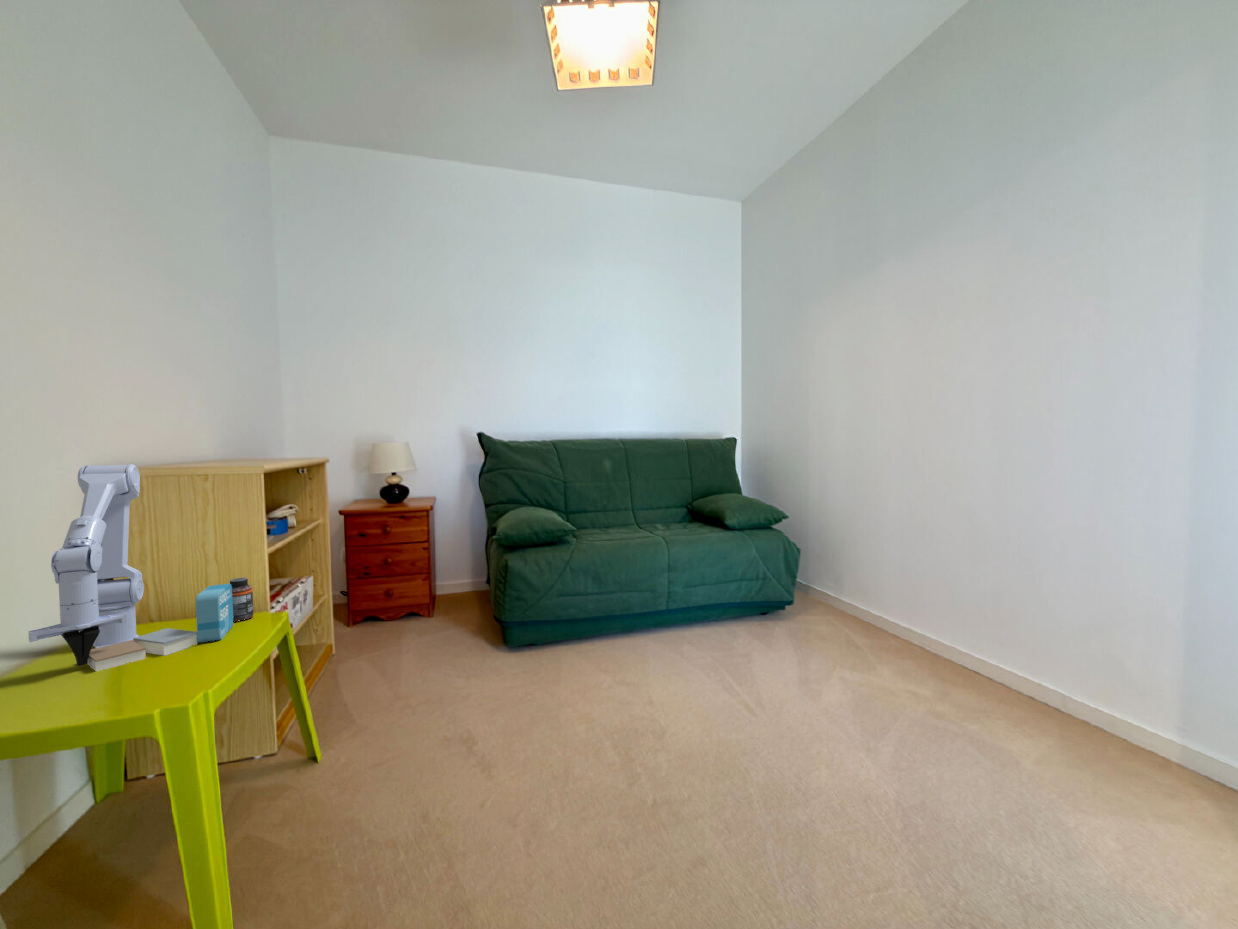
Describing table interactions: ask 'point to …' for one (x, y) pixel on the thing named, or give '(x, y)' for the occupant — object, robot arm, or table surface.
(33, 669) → the table surface
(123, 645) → the book walnut
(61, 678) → the table surface
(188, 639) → the book grey
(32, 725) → the table surface
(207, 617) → the blue box
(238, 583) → the supplement bottle
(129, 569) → the robot arm
